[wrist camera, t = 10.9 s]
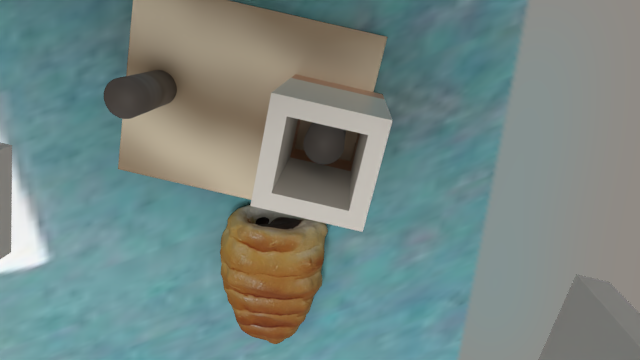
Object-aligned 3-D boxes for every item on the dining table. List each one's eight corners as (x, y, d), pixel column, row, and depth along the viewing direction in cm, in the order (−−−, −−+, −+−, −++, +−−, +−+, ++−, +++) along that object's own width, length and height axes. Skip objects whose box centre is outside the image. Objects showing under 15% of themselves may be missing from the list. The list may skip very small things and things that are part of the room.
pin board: (146, -19, 28) (91, -31, 22) (385, 36, 27) (393, 38, 22) (129, 162, 31) (77, 193, 25) (341, 211, 31) (338, 253, 25)
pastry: (317, 333, 34) (312, 369, 30) (223, 321, 34) (207, 355, 31) (330, 209, 31) (325, 233, 28) (227, 197, 32) (209, 219, 28)
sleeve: (278, 158, 29) (250, 206, 21) (295, 74, 27) (271, 92, 19) (361, 177, 29) (362, 231, 21) (382, 94, 27) (392, 120, 19)
